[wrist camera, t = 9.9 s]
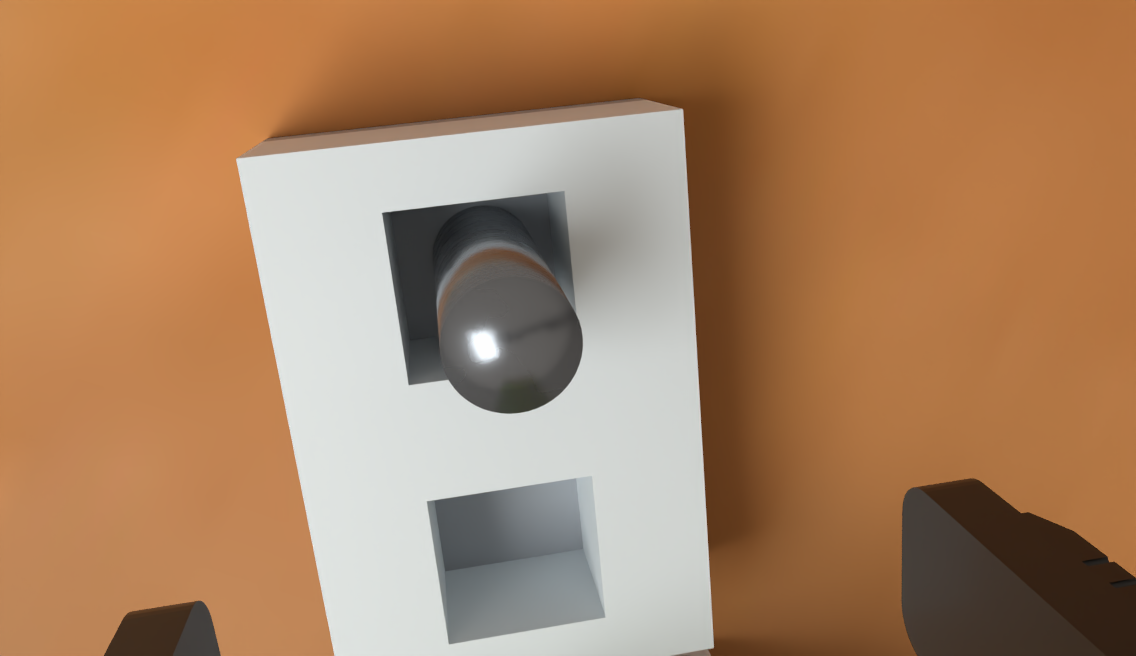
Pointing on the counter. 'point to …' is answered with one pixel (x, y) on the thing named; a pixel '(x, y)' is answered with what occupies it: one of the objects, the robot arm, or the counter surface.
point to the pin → (501, 314)
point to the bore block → (474, 435)
